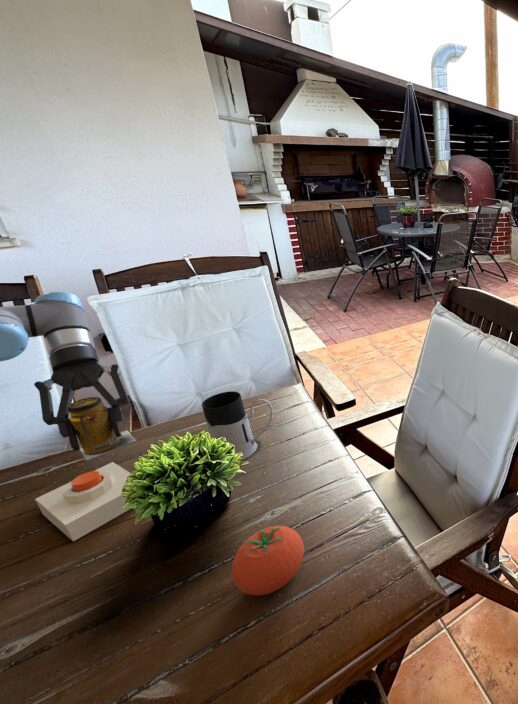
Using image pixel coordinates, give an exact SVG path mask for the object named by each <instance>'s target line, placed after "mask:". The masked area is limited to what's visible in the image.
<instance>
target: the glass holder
mask: <svg viewBox="0 0 518 704" xmlns="http://www.w3.org/2000/svg"><path fill="white" fill-rule="evenodd" d="M259 402H263V403H266V404H267V405H268V406H269V410H270V417H269V421H268V423H267V424H266V425H265V427H264V428H263V429H261V431H260V432H258V433H257V434H256V435H255V436H253V431H252V429H251V424H250V420H249V418H252V417H253V416H254V413H255V412H254V405H255V404H256V403H259ZM201 408H202V411H203V417H204V421H205V423H206V427H207V430H208V433H209V436H210V435H211V436H212V437H213V438H216V439H218V438H220V437H225V438H226V440H227V441H228V442H229V443H231V444H233V445H235V452H242V453H243V457H242V460H241V461H244V460H245V459H247V458H249V457H250V456H252V455H253V454H254V453H255V452H256V451H257V449H258V444H257V442H255V440H256V439H258V438H259V436H260V435H261V434H263V433H264V432H265V431H266V430H267V429H268V428H269V426H270V425H271V423H272V420H273V417H274V415H273V414H274V411H273V406H272V404H271V402H270V401H269V400H268V399H265V398H258V399H256V400H254V401H253V402H252V403H251V404H250V413H251V414H249V415H248V414H247V411H246V409H245V405H244V403H243V398H242V395H241V393H240V392H239V391H233V390H232V391H231V390H230V391H223V392H220V393H217V394H213V395H211V396H209V397H208V398H206V399H204V400H203V401H202V402H201ZM211 436H210V437H211Z"/></svg>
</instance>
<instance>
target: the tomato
mask: <svg viewBox="0 0 518 704" xmlns="http://www.w3.org/2000/svg"><path fill="white" fill-rule="evenodd" d="M258 530H259V531H257V532H255V533H254V534H253V535H251V536H250V537H248V538H247V539H246V540H245V541H244V542H243V543H241V546H240V547H239V548H238V550H237V551H236V553H235V555H234V557H233V560H232V565H231V577H232V581H233V583H234V585H235V586H236V588H237V589H238V590H240V591H241V592H242V593H244V594H247V595H250V596H256V597H257V596H264V595H268V594H271V593H274V592H276V591H277V590H280V589H281V588H283V587H284V586H285V585H287V584H288V583H289V582H290V581H291V580H292V579H293V578H294V577H295V576H296V574H297V573H298V571H299V570H300V567H301V565H302V563H303V559H304V556H305V555H304V554H305V547H304V542H303V539H302V537H301V535H300V534H299V533H298V532H297V531H296V530H295V529H293V528H291V527H289V526H285V525H274V526H269V527H266V528H264V529H258Z"/></svg>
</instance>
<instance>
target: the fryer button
mask: <svg viewBox="0 0 518 704" xmlns="http://www.w3.org/2000/svg"><path fill="white" fill-rule="evenodd" d="M101 481H102V478H101V475H100V473H99V472H98V471H95V470H92V471H87V472H84V473H82V474H80V475H78V476H76V477H74V479H73V480H72V481H70V482H71V485H72V487H73V489H74V491H75V492H81V491H85V490H88V489H90V488H92V487H94V486H96V485H98V484H99V483H100V482H101Z"/></svg>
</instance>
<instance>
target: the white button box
mask: <svg viewBox="0 0 518 704" xmlns="http://www.w3.org/2000/svg"><path fill="white" fill-rule="evenodd" d="M94 471H98V472H99V473H100V475H101V478H102V481H101V482H100V483H99V484H98V485H96V486H94V487H92V488H90V489H88V490H85V491H81V492H75V491H74V489H73V487H72V485H71V482H72V481H70V482H67V483H65V484H63V485H60V486H59V487H57V488H55V489H53V490H50V491H49V492H46V493H45V494H42V495H40V496H38V497H36V498H34V501H35V503H36V504H37V507H38V508H39V510H40V512H41V514H42V515H43V517H45V518H46V519H47V520H48V521H50V522H51V524H53V525H54V526H55V527H56V528H57V529H59V530H60V532H62V533H63V534H64V535H65V536H66V537H67V538H68V539H69V540H71V541H72V542H76V541H77V540H78V539H80V538H82V537H84V536H86V535H87V534H89V533H91V532H92V531H94V530H96V529H98V528H100V527H101V526H104V525H105V524H107V523H108V522H110V521H112V520H113V519H115V518H117V517H119V516H120V515H123V514H124V513H126V512H128V511H130V509H123V505H124V504H125V502H126V498H125V497H123V496H122V495H121V492H122V489H123V486H124V484H125V482H126V480H127V477H128V476H129V475H130V474H132V473H131V472H129V471H128V470H126V469H125V468H123V467H122V466H120V465H118V464H117V463H115V462H113V461H111V462H110V463H107V464H105V465H103V466H101V467H99V468H97V469H95V470H94Z"/></svg>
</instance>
